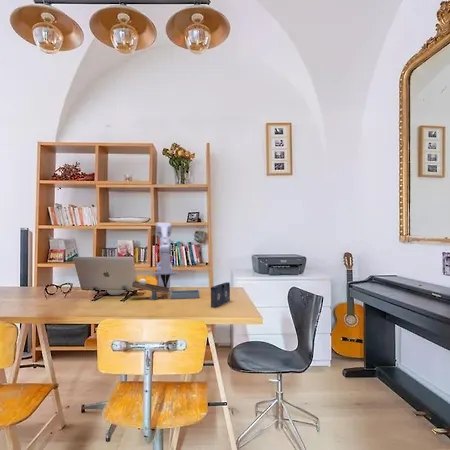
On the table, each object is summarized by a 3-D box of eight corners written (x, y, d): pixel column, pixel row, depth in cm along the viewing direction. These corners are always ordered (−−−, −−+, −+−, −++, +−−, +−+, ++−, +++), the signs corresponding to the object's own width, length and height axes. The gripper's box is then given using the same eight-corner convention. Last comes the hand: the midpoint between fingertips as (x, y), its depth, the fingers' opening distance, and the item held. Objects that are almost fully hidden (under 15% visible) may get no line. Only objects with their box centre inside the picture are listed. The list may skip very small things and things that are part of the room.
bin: (170, 296, 199) (170, 289, 200) (198, 295, 202) (198, 288, 202) (170, 299, 191) (170, 291, 191) (199, 298, 193) (199, 290, 193)
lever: (134, 282, 203) (136, 277, 204) (168, 289, 206) (169, 284, 206) (131, 286, 189) (133, 281, 189) (167, 294, 191) (169, 288, 192)
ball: (138, 279, 195) (145, 277, 195) (140, 286, 195) (147, 283, 195) (137, 280, 191) (144, 278, 191) (140, 287, 191) (147, 284, 191)
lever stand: (151, 296, 199) (151, 286, 199) (158, 296, 199) (158, 286, 199) (149, 300, 188) (149, 289, 188) (157, 299, 189) (157, 289, 189)
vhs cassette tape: (226, 300, 187) (225, 282, 187) (230, 300, 186) (230, 282, 186) (209, 307, 170) (209, 287, 171) (215, 307, 169) (214, 287, 169)
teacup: (127, 292, 211) (127, 279, 211) (120, 296, 200) (120, 282, 200) (106, 292, 212) (106, 279, 212) (97, 296, 201) (97, 282, 201)
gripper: (152, 265, 199) (152, 289, 199) (177, 265, 201) (177, 288, 201) (153, 264, 206) (153, 287, 206) (177, 263, 208) (177, 286, 208)
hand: (165, 287), depth 204 cm, fingers closed, pressing on lever
